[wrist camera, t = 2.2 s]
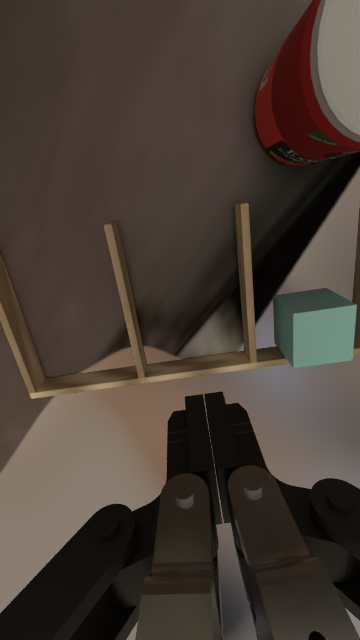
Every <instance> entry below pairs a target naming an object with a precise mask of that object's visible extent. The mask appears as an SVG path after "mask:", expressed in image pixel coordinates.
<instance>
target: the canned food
mask: <svg viewBox="0 0 360 640" xmlns="http://www.w3.org/2000/svg"><path fill="white" fill-rule="evenodd" d="M255 121H256V128H257V132H258V135H259V138H260V140H261V142H262V144H263V146H264V147H265V148H266V150H267V151H268V152H269V153H270V154H271V155H272V156H273V157H274V158H276V159H277V160H278V161H280V162H283V163H285V164H287V165H293V166H306V165H309V164H313V163H317V162H321V161H325V160H328V159H332V158H336V157H340V156H344V155H347V154H351V153H355V152H359V151H360V0H313V1H312V3H311V4H310V5H309V7H308V8H307V10H306V11H305V13H304V14H303V16H302V17H301V18H300V20H299V21H298V23H297V24H296V26H295V27H294V29H293V30H292V32H291V33H290V34H289V36H288V37H287V39H286V40H285V42H284V43H283V45H282V46H281V48H280V49H279V50H278V52H277V53H276V55H275V56H274V58H273V59H272V61H271V62H270V64H269V65H268V67H267V69H266V71H265V72H264V74H263V76H262V79H261V82H260V84H259V87H258V91H257V96H256V101H255Z"/></svg>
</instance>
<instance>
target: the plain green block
mask: <svg viewBox="0 0 360 640" xmlns="http://www.w3.org/2000/svg"><path fill="white" fill-rule="evenodd" d="M273 307H274V340H275V344H276V345H277V347H278V348H279V349H280V351H281V352H282V353H283V355H284V356H285V358H286V359H287V360H288V362H289V363H290V364H291V366H292V367H293V368H299V367H306V366H314V365H321V364H328V363H335V362H342V361H350V360H353V348H354V335H355V323H356V310H357V305H356V304H355V303H353V302H351V301H349V300H347V299H345V298H343V297H342V296H340V295H338V294H336V293H334V292H332V291H331V290H329V289H327V288H322V289H315V290H308V291H301V292H295V293H288V294H281V295H276V296H273Z"/></svg>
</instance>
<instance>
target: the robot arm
mask: <svg viewBox="0 0 360 640" xmlns="http://www.w3.org/2000/svg"><path fill="white" fill-rule="evenodd" d="M205 403H206V410H207V417H206V411H205V405H204V398H203V394H201V395H194V396H186V397H185V406H186V410H182V411H174V412H173V413H172V415H171V417H170V418H169V420H168V438H167V439H168V440H167V442H168V444H167V480H166V484H165V485H164V487H163V489H162V492H161V494H160V495H159V496H158V497H157V498H156V499H155V500H154V501H152V502H151V503H149V504H147V505H145V506H143V507H141V508H139V509H137V510H134V511H131V509H129V508H128V507H127V506H125V505H122V504H111V505H108V506H106V507H103V508H102V509H100V510H99V511H97V512H96V513H95V514H94V515H93V516H92V517H91V518H90V519H89V520H88V521H87V522H86V523H85V524H84V526H82V528H81V529H80V530H79V531H78V532H77V533H76V534H75V535H74V536H73V537H72V538H71V539H70V540H69V541H68V542H67V543H66V544H65V545H64V547H63V548H62V549H61V550H60V551H59V552H58V553H57V554H56V555H55V556H54V557H53V558H52V559H51V560H50V561H49V563H47V565H46V566H45V567H44V568H43V569H42V570H41V571H40V572H39V573H38V574H37V575H36V576H35V577H34V578H33V579H32V580H31V581H30V583H29V584H28V585H27V586H26V587H25V588H24V589H23V590H22V591H21V592H20V593H19V594H18V596H16V597H15V598H14V599H13V601H12V602H11V603H10V604H9V605H8V606H7V607H6V608H5V609H4V610H3V611H2V612H1V613H0V640H126V639H127V637H128V636H129V634H130V632H131V631H132V629H133V628H134V626H135V624H136V623H137V621H138V625H137V632H136V640H223V630H222V613H221V596H220V580H219V563H218V535H217V528H216V524H222V519H221V512H220V504H219V497H218V489H217V482H218V487H219V494H220V500H221V507H222V512H223V519H224V523H231V526H232V532H233V537H234V545H235V552H236V556H237V560H238V564H239V568H240V572H241V576H242V580H243V584H244V588H245V592H246V596H247V600H248V604H249V608H250V612H251V616H252V620H253V624H254V628H255V632H256V637H257V640H360V638H359V636H358V634H357V632H356V630H355V627H354V625H353V624H352V621H351V619H350V617H349V615H348V613H347V611H346V609H347V610H349V611H350V612H351V613H352V614H353V615H354V616H355V617H357V619H359V620H360V489H358V488H357V487H355V486H353V485H352V484H349V483H348V482H345V481H343V480H339V479H333V478H327V479H323V480H320V481H318V482H317V483H315V484H314V485H313V487H312V489H307V488H301V487H296V486H291V485H288V484H285V483H283V482H281V481H279V480H278V479H276V478H275V477H274V476H273V475H272V474H271V473H270V472H269V470H268V469H267V467H266V464H265V461H264V459H263V456H262V453H261V450H260V447H259V445H258V442H257V439H256V436H255V434H254V431H253V428H252V425H251V423H250V419H249V417H248V414H247V411H246V410H245V409H244V408H243V407H242V406H241V405H240V404H239V403H233V404H226V403H225V399H224V396H223V392H215V393H208V394H205ZM207 418H208V423H207ZM208 424H209V430H208ZM209 432H210V437H209ZM210 439H211V442H210ZM211 445H212V448H211ZM212 451H213V455H212ZM213 457H214V461H213ZM214 463H215V467H214ZM215 470H216V474H215ZM216 476H217V482H216ZM345 608H346V609H345Z"/></svg>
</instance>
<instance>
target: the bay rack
mask: <svg viewBox="0 0 360 640" xmlns="http://www.w3.org/2000/svg"><path fill="white" fill-rule="evenodd" d="M234 209H235V223H236V238H237V252H238V266H239V281H240V295H241V310H242V324H243V338H244V351H240V352H233V353H225V354H218V355H211V356H204V357H196V358H189V359H182V360H175V361H168V362H160V363H153V364H147V362H146V357H145V352H144V348H143V343H142V338H141V333H140V329H139V324H138V319H137V314H136V310H135V305H134V300H133V296H132V291H131V286H130V281H129V277H128V272H127V267H126V262H125V258H124V253H123V248H122V243H121V239H120V234H119V229H118V224H117V222H113V223H108V224H105V225H104V229H105V233H106V237H107V242H108V246H109V251H110V255H111V259H112V264H113V268H114V272H115V277H116V281H117V286H118V290H119V294H120V299H121V303H122V308H123V312H124V316H125V321H126V325H127V329H128V334H129V338H130V343H131V347H132V351H133V356H134V360H135V365H136V366H131V367H124V368H117V369H109V370H102V371H95V372H88V373H80V374H73V375H66V376H59V377H51V378H46V377H45V374H44V372H43V369H42V366H41V363H40V361H39V358H38V355H37V352H36V350H35V347H34V344H33V341H32V339H31V336H30V333H29V331H28V328H27V325H26V322H25V320H24V317H23V314H22V311H21V309H20V306H19V303H18V300H17V298H16V295H15V292H14V289H13V287H12V284H11V281H10V278H9V276H8V273H7V270H6V267H5V265H4V262H3V259H2V256H1V254H0V321H1V323H2V326H3V328H4V331H5V333H6V336H7V338H8V341H9V343H10V346H11V348H12V351H13V353H14V356H15V359H16V361H17V364H18V366H19V369H20V371H21V374H22V376H23V379H24V381H25V384H26V386H27V389H28V391H29V394H30V396H31V399H33V398H40V397H47V396H55V395H62V394H69V393H77V392H83V391H92V390H99V389H106V388H114V387H121V386H128V385H135V384H143V383H150V382H157V381H164V380H172V379H180V378H187V377H194V376H201V375H209V374H216V373H224V372H231V371H239V370H246V369H253V368H260V367H268V366H275V365H282V364H290V363H289V362H288V360H287V359H286V358H285V356H284V355H283V353H282V352H281V351H280V349H279V348H278V347H277V346H276V347H269V348H262V349H256V338H255V318H254V299H253V280H252V261H251V243H250V224H249V205H248V203H237V204H234ZM352 301H353V303H355V304H356V305H357V310H356V323H355V335H354V348H353V355H355V354H360V210H359V223H358V236H357V248H356V262H355V275H354V287H353V300H352Z"/></svg>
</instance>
